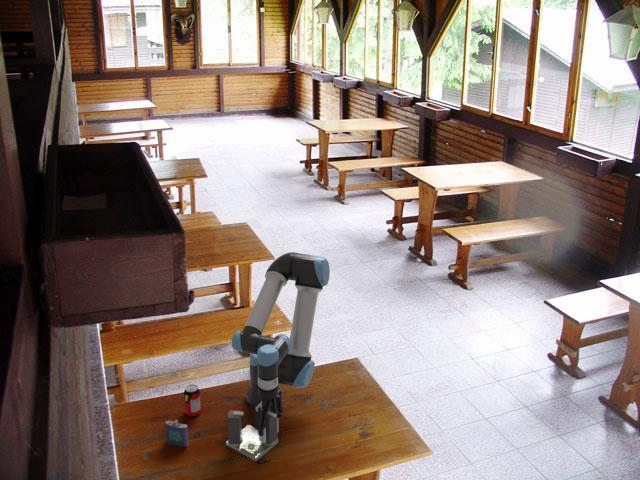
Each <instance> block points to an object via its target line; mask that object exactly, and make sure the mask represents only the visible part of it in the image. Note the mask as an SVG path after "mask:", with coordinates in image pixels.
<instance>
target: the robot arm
mask: <svg viewBox="0 0 640 480" xmlns="http://www.w3.org/2000/svg"><path fill="white" fill-rule="evenodd" d="M264 278H265V280H264V282H263V285H262V287H261V289H260V291H259V293H258V295H257V298H256V300H255V303H254V305H253V307H252V308H251V311H250V314H249V316H248V318H247V320H246V323H245V325H244V328H243V329H242V330H236V331H235V332H234V333H233V335H232V338H231V347H232V349H233V350H236V351H237V352H241V353H248V354H250V355H249V379H250V383H249V386H248V389H247V392H246V402H247V404H248V405H250V406H251V407H253V410H254V421H253V427H254V428H255V429H257V430H258V435H259V441H261V442H263V443H266V428H265V427H264V426H265V421H266V417H267V412H269V409H270V410H272V411H274V412H276V413H277V434H278V433H279V431H280V430H279V428H280V427H279V422H280V419H281V418H282V413H283V412H284V411H283V410H284V408H283V391H282V388H281V386H280V384H281V385H285V386H289V387H293V388H299V389H303V388H304V389H305V388H306V387H308V385H309V383H310V382H311V380H312V377H313V376H314V372H315V368H316V366H315V364H316V363H315V361H314V360H312V357H313V356H312V354H311V352H310V346H311V338H312V333H313V327H314V320H315V314H316V308H317V303H318V297H319V293H321V292H322V291H323V288H324V287H326V286H328V284H329V281H330V264H329V261H328V259H327V258H326V257H324V256H319V255H314V254H306V253H299V252H293V251H291V252H286V253H284V254H282V255H280V256H278V257H277V258H276V259H274V261H273V262H271V264H270V265H269V266H268V267H267V270H266V272H265V274H264ZM288 281H294V287H295V288H296V289H297V293H296V298H295V305H294V310H293V317H292V323H291V329H290V336H287V335H286V334H284V333H283V334H281V333H280V334H276V335H275V336H274V337H271V336H266V335H264V334H263V333H264V330H265V328H266V325H267V323H268V321H269V319H270V317H271V314H272V312H273V310H274V307H275V305H276V303H277V300H278V297H280V294H281V292H282V288H284V287H285V286H286V285H287V284H288Z"/></svg>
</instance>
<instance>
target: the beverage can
mask: <svg viewBox="0 0 640 480" xmlns="http://www.w3.org/2000/svg"><path fill="white" fill-rule="evenodd" d="M183 399H184V412H185V414H186V415H187V416H189V417H196V416H198V415H199V414H200V413H201V411H202V408H201V407H202V405H201V391H200V389H199V387H198V385H197V384H189V385H186V386H185V388H184V391H183Z"/></svg>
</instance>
